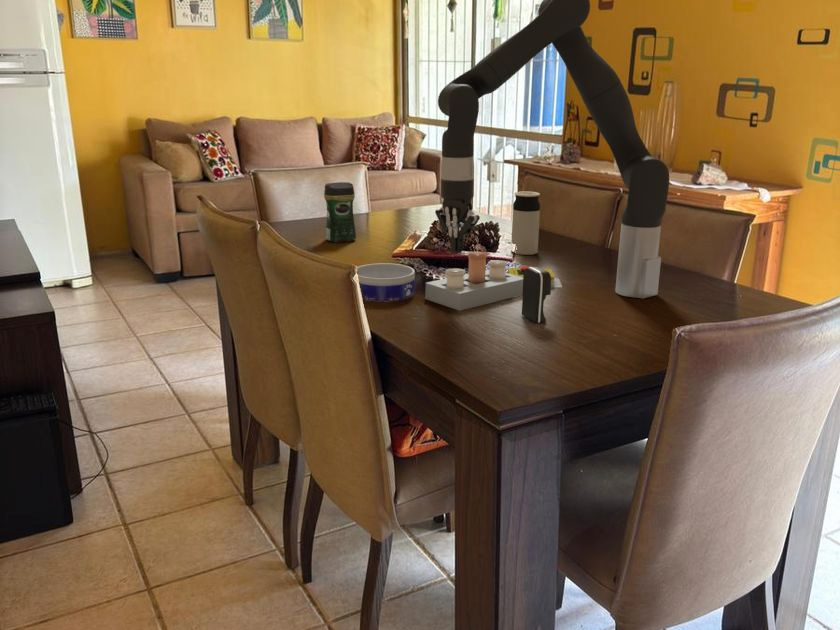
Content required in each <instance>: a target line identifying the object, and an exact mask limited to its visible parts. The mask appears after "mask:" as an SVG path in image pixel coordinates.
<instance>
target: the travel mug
mask: <svg viewBox="0 0 840 630" xmlns="http://www.w3.org/2000/svg"><path fill="white" fill-rule="evenodd" d="M514 195H515V196H514V197H515V200H514V201H513V203H512V204H513V205H512V220H511V221H512V223H511V242H512V243H513V244H516V245H517V250H516V254H515V255H519V256H533V255H536V254H538V249H539V233H540V232H539V231H540V218H541V217H540V216H541V215H540V213H541V203H540V202H539V201H540V200H539V196H541V193H539V192H536V191H525V190H524V191H522V190H521V191H516V192H514Z"/></svg>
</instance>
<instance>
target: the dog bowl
mask: <svg viewBox="0 0 840 630" xmlns="http://www.w3.org/2000/svg"><path fill="white" fill-rule="evenodd" d="M356 267H357V268H358V278H359V284H360V288H361V292H362V297H363V300H362V301H364V300H365V302H370V301H382V302H381V303H385V302H384V301H396V302H400V301H399V300H402V301H405V300H404V299H406V300H408V299H407V298H409V299H410V297H411V298H412V297H413V296H414V295H415V282H416V281H415V279H416V271H415V269H414V268H412V267H411V266H408V265H405V264H400V263H399V264H398V263H388V262H386V263H385V262H384V263H383V262H380V263H369V264H363V265H359V266H356Z"/></svg>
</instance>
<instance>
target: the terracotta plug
mask: <svg viewBox="0 0 840 630" xmlns="http://www.w3.org/2000/svg"><path fill="white" fill-rule="evenodd" d="M467 258H468V274H469V275H468V282H470V283H473V284H480V283H485V270H486V264H487V261H486V260H487V258H488V253H487V252H483V251H473V252H468V253H467Z"/></svg>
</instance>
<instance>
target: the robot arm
mask: <svg viewBox="0 0 840 630" xmlns="http://www.w3.org/2000/svg"><path fill="white" fill-rule="evenodd" d="M590 10H591V2H590V0H541V3H540V5H539V7H538V14H537V16H536V17H535V18H534V19H533V20H532V21H531V22H529V23H528V24H527V25H525V26H524V27H523V28H521V30H519V31H518V32H517V33H515V34H513V35H512V36H511V37H509V38H508V39H506V40H505V41H503V42H502V43H501V44H499V45H498V46H497V47H495V48H494V49H493V50H492V51H490V52H489V53H488V54H487V55H486V56H484V57H483V58H482V59H481V60H480V61H478V62H477V63H476V65H474V66H473V67H472V68H470V69H469V70H467V71H465V72H464V73H462V74H461V75H458V77H456V78H454V79H453V80H452V81H450V82H449V83H448V84H446V85H445V86H444V87H443V88H442V90H440V93H439V95H438V98H437V105H438V108H439V111H440V112H441V113H443V114H444V115H445V116H447V117H448V121H447V129H446V130H444V132H443V133H442V137H441V162H440V163H441V164H440V198H442V200H443V201H442V204H441V205H442V206H441V207H440V208H439V209H435V212H434V213H435V216H436V217H437V219H438V221H439V223H440V226H441V228H442V230H443V233H447V234H448V236H449V237H450V239H449V240H450V252H451V253H454V254H460V253H462V252H463V251H464V237H466V236H468V235H471V233H472V231H473V230H474V228H475V227H476V225H477V223H479V220H480V217H481V216H480V214H475V213H474V212H473V205H472V199H473V198H474V196H475V162H474V135H475V131H476V128H477V122H478V118H479V110H480V102H479V100H480V98H482V97H483V96H486V95H489V94H491V93H493V92H495V91H497V90H498V89H499V88H500V87H502V86H503V85H504V84H506V83H507V81H509V80H510V79H511V78H512V77H513V76H514V75H515V74H517V72H519V71H520V70H521V69H523V67H524V66H526V65H527V64H528V63H529V62H530V61H532V60H533V59H534V57H536V56H537V55H538V54H540V52H542V51H543V50H544V49H546V48H547V47H548V46H549V45H551V44H552V45H553V47H554V48H555V50H556V52H557V53H558V54H559V56H560V58H561V60H562V61H563V63H564V65H565V67H566V69H567V71H568V73H569V75H570V78H571V79H572V82H573V83H574V85H575V87H576V89H577V91H578V92H579V95H580V97H581V99H582V101H583V103H584V105H585V108H586V109H587V111H588V114H589V115H590V118H592V120H593V122H594V124H595V126H596V127H597V128H598V131H599V132H600V134H601V136H602V137H603V139H604V140H605V142H606V144H607V145H608V147H609V149H610V151H611V153H612V156H613V157H614V160H615V163H616V166H617V168H618V172H619V174H620V176H621V180H622V182H623V184H624V186H625V188H627V189H628V193H627V201H626V207H625V209H624V210H623V212H622V214H621V226H620V235H619V247H618V257H617V267H616V280H615V281H616V282H615V290H614V291H615V293H616V294H618V295H620V296H622V297H629V298H639V299H646V298H650V297H654V296H657V295H658V293H659V283H660V281H659V280H660V274H661V273H660V272H661V263H662V257H661V256H659V249H660V239H661V231H662V230H661V228H662V227H661V226H662V220H663V217H664V215H665V213H666V209H667V202H668V194H669V188H670V187H669V186H670V171H669V168H668V166H667V165H666V164H665V163H664V162H663V161H662V160H660V159H659V158H656V157H653V156H652V154H651V153H650V151H649V150H648V148H647V146H646V145H645V143H644V141H643V140H642V137H641V136H640V134H639V132H638V131H639V130H638V129H637V126H636V120H635V117H634V111H633V107H632V104H631V99H630V98H629V96H628V94H627V91H626V89H625V88H624V85H623V83H622V81H621V79H620V77H619V76H618V74H617V72H616V71H615V70H614V69H613V67H612V66H611V65H610V64H609V63H608V61H606V60H605V59H604V58H603V57H602V56H601V55H599V53H598V52H596V50H595V49H594V48H593V46H592V45H591V44H590V42H589V40H588V39H587V38H586V35H585V33H584V30H583V28H582V25H584V24H585V22H586V20H587V18H588V17H589V15H590Z"/></svg>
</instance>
